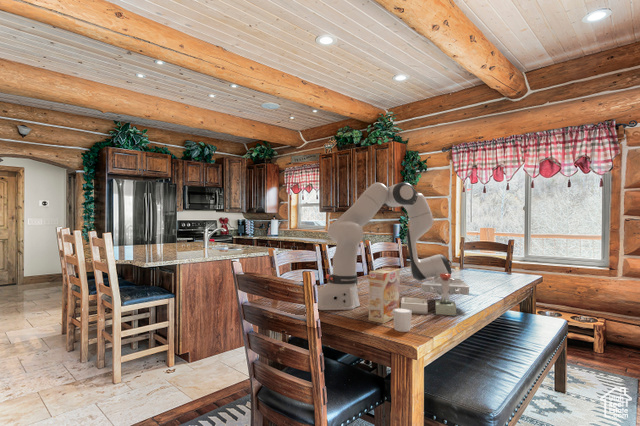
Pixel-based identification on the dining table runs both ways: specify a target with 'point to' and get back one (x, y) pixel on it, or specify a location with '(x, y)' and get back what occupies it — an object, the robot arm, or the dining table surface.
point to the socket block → (445, 308)
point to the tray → (415, 305)
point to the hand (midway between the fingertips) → (445, 291)
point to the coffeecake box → (383, 294)
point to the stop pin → (445, 287)
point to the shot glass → (402, 319)
